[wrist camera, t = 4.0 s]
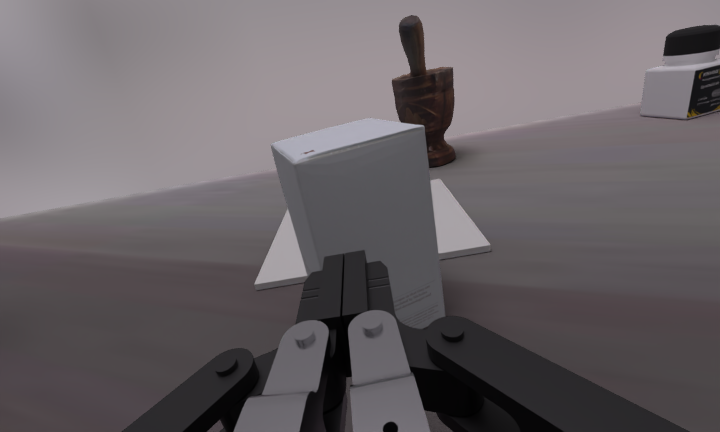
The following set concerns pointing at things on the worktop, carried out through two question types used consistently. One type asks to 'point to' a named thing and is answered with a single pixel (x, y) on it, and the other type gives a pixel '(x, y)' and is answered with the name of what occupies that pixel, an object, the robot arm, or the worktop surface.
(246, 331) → the worktop surface
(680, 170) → the worktop surface
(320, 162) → the supplement box
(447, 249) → the mat
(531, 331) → the worktop surface
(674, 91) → the medicine bottle
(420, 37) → the mortar and pestle
